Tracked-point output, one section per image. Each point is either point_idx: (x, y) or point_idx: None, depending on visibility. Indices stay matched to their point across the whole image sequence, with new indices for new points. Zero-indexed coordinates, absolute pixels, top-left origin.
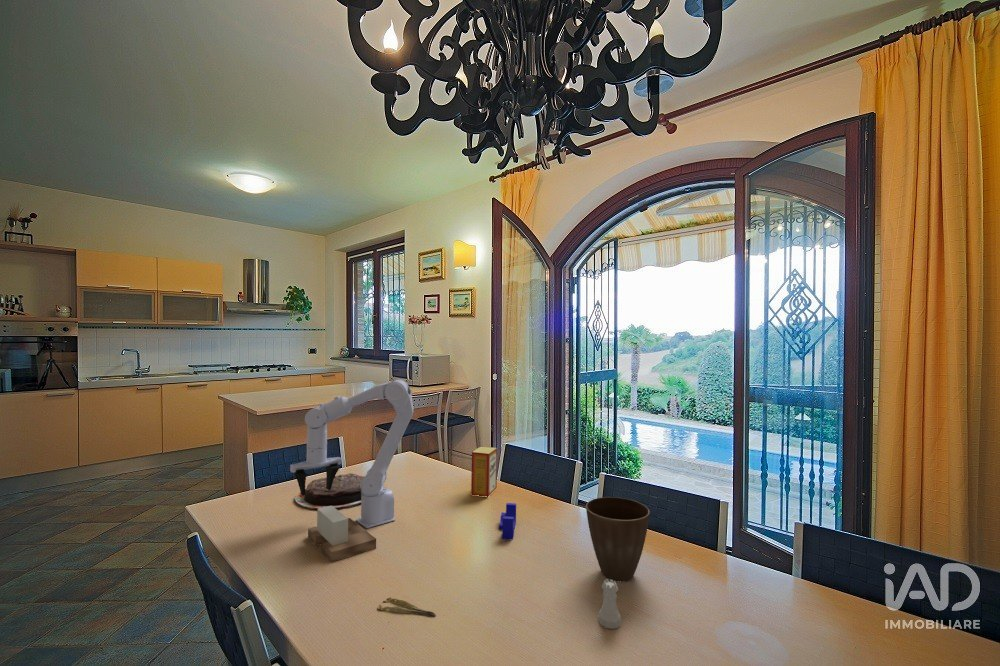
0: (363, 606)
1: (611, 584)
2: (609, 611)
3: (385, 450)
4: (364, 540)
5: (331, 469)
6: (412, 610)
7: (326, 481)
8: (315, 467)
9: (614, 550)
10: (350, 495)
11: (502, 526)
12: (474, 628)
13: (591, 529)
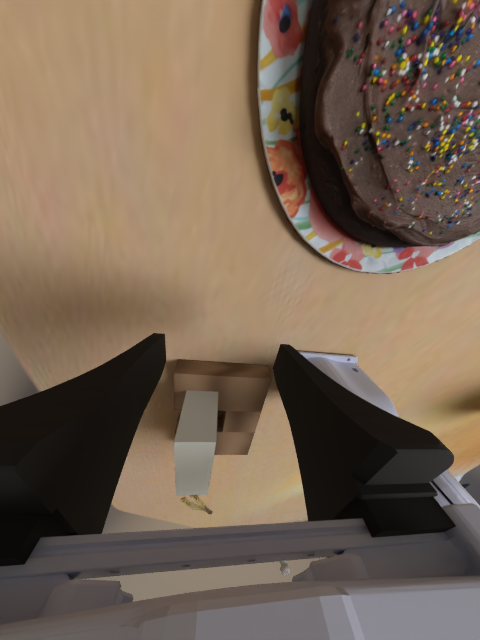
0: (173, 493)
1: (286, 572)
2: None
3: None
4: (231, 451)
5: (310, 518)
6: (201, 509)
7: (294, 361)
8: (204, 544)
9: None
10: (399, 241)
11: None
12: (222, 521)
13: None
